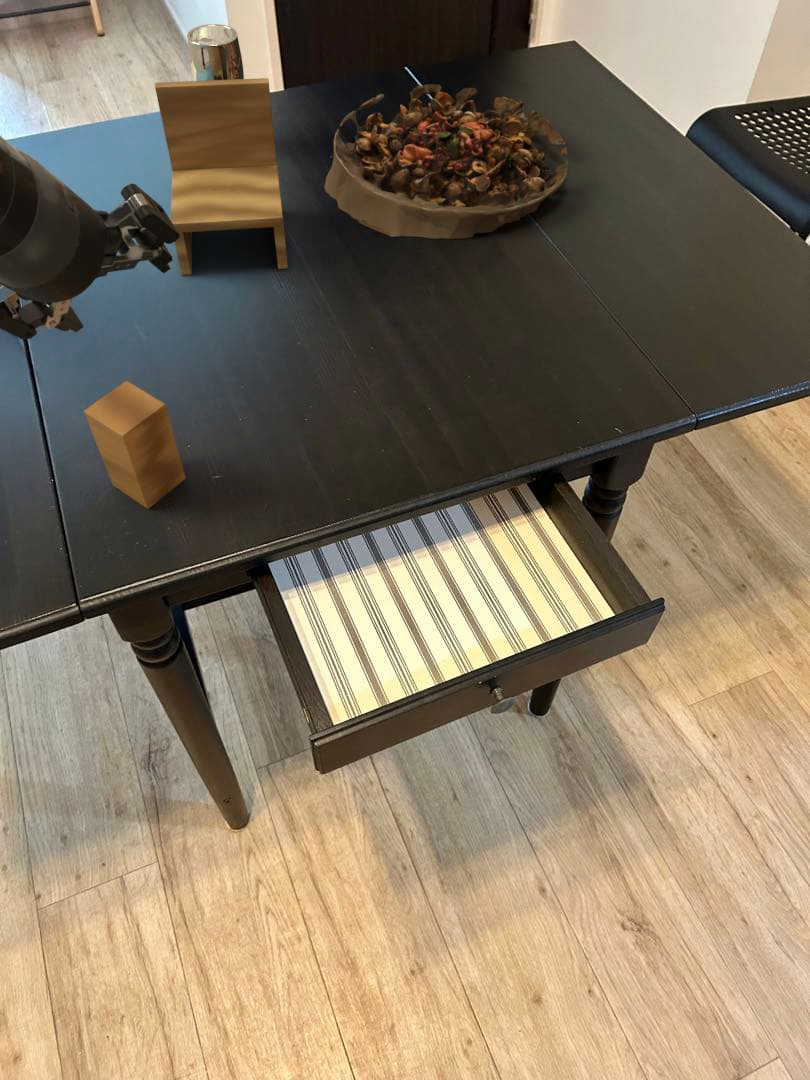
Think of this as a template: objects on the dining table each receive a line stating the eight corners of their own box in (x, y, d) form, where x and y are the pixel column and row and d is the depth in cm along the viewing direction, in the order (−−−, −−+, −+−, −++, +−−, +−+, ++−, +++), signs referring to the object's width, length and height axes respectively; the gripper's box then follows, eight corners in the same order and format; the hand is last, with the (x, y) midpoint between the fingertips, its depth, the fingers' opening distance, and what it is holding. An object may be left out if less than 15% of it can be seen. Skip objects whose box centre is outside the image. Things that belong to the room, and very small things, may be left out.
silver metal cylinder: (218, 131, 123) (201, 19, 111) (260, 140, 121) (248, 28, 109) (195, 153, 119) (175, 40, 107) (239, 162, 117) (224, 49, 105)
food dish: (473, 102, 132) (480, 50, 126) (611, 203, 116) (626, 148, 110) (279, 151, 119) (276, 95, 113) (404, 271, 103) (408, 214, 97)
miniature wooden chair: (287, 268, 102) (274, 132, 89) (181, 275, 101) (151, 138, 88) (281, 211, 110) (268, 77, 97) (182, 216, 109) (155, 82, 95)
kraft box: (148, 509, 79) (122, 435, 71) (112, 485, 80) (83, 410, 72) (186, 478, 81) (165, 404, 73) (150, 455, 83) (126, 380, 75)
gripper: (79, 106, 50) (165, 201, 66) (-112, 237, 51) (19, 299, 67) (147, 212, 50) (216, 281, 66) (-44, 340, 51) (70, 378, 67)
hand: (117, 290), depth 66 cm, fingers open, 8 cm apart
